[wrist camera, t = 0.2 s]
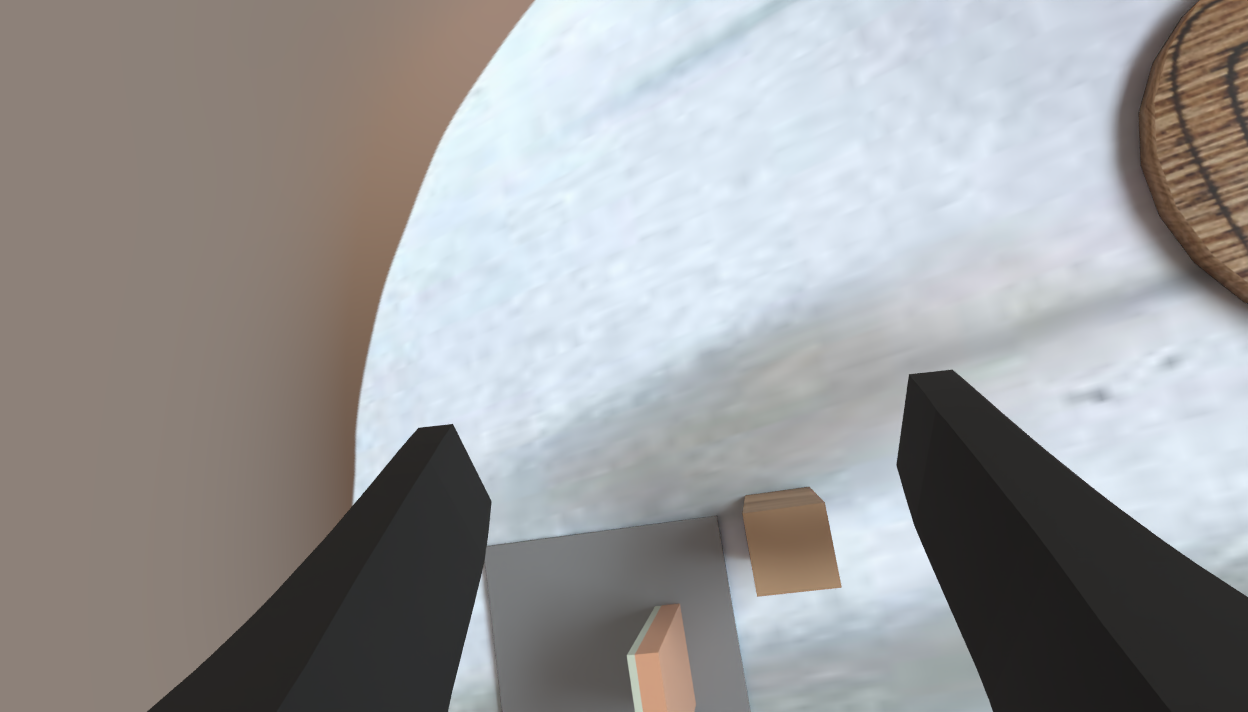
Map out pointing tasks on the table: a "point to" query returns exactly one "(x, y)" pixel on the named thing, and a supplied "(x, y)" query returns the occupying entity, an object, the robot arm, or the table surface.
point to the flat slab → (661, 664)
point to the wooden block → (790, 542)
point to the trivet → (1202, 138)
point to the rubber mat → (610, 615)
